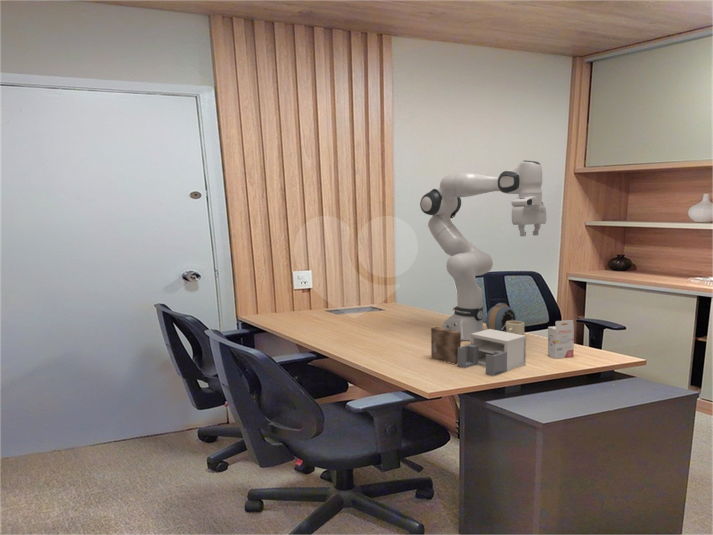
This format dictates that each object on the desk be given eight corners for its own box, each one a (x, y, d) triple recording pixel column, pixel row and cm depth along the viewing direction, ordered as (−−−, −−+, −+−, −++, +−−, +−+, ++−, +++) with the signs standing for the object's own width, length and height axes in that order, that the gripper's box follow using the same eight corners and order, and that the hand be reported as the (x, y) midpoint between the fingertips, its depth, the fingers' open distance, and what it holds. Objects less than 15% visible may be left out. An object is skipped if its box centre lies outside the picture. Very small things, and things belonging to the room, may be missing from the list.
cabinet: (457, 366, 190) (457, 337, 189) (489, 356, 202) (489, 328, 201) (494, 375, 177) (494, 344, 176) (525, 364, 190) (525, 335, 189)
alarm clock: (500, 348, 214) (501, 306, 213) (481, 343, 222) (481, 303, 220) (519, 342, 223) (520, 302, 222) (500, 338, 231) (501, 299, 229)
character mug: (512, 349, 211) (512, 318, 210) (528, 352, 207) (529, 321, 205) (500, 355, 203) (500, 323, 202) (517, 358, 198) (517, 325, 197)
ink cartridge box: (565, 353, 204) (566, 317, 203) (573, 357, 199) (574, 319, 198) (546, 355, 202) (547, 319, 200) (554, 358, 197) (555, 321, 196)
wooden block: (429, 358, 200) (429, 328, 199) (436, 356, 203) (436, 327, 202) (453, 365, 191) (453, 333, 190) (460, 362, 194) (460, 331, 193)
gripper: (536, 201, 213) (536, 234, 215) (508, 201, 200) (508, 236, 202) (550, 201, 208) (550, 235, 210) (523, 200, 195) (522, 237, 197)
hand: (529, 235), depth 206 cm, fingers open, 8 cm apart
